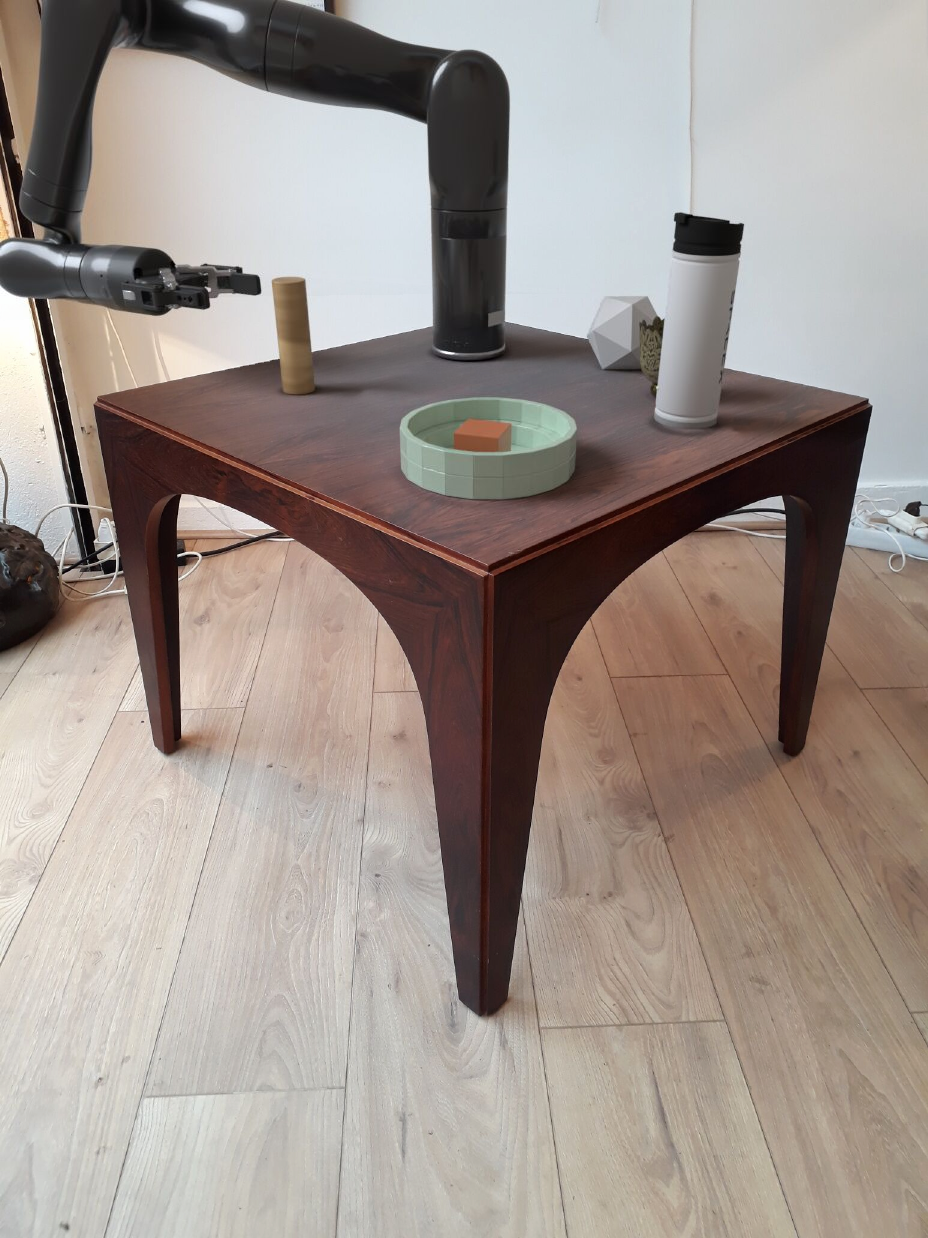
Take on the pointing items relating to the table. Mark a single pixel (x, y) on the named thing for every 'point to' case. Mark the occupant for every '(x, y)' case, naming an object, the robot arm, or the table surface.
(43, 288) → the robot arm
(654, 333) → the cup
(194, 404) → the table surface
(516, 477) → the bowl
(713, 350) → the travel mug
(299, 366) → the wooden cylinder
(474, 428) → the block
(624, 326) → the die
